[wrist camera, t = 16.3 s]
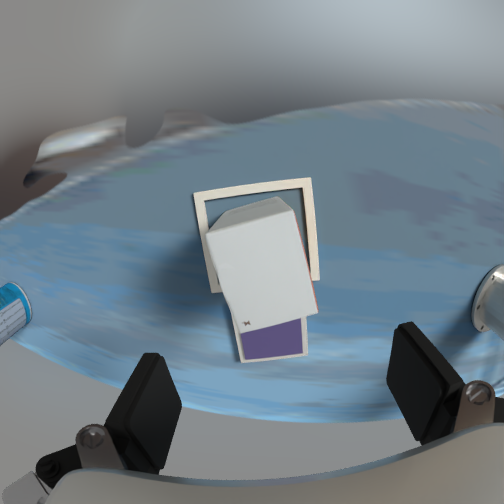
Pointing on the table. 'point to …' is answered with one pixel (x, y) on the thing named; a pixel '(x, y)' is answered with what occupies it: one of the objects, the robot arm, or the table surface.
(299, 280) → the small box
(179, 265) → the table surface
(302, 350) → the ink pad
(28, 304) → the beverage bottle
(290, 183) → the outlined square
